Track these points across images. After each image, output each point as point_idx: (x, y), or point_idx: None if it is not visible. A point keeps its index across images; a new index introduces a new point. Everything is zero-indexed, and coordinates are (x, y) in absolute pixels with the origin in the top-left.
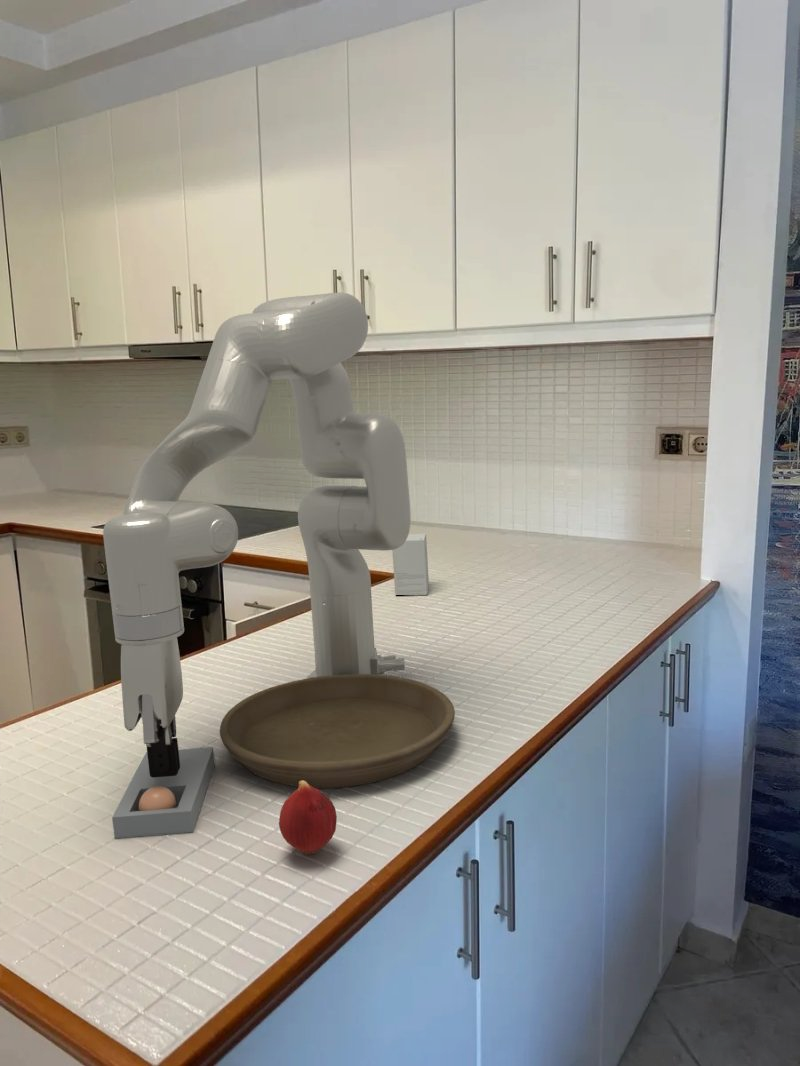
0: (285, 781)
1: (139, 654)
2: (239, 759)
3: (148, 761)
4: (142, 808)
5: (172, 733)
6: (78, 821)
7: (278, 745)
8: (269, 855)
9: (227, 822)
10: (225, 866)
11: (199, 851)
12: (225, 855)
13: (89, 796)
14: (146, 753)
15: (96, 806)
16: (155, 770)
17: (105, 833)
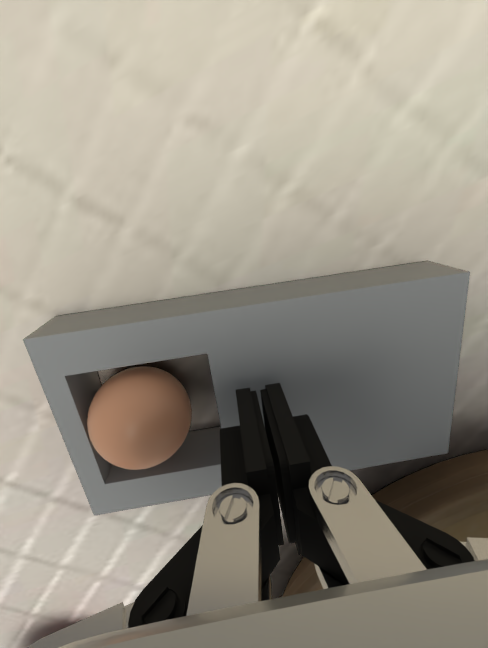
0: (292, 579)
1: None
2: None
3: (240, 421)
4: (92, 402)
5: (316, 566)
6: (132, 163)
7: (459, 529)
8: (54, 600)
9: (157, 514)
10: (3, 555)
11: (42, 503)
12: (38, 545)
13: (288, 128)
14: (459, 276)
15: (223, 184)
16: (220, 430)
17: (78, 279)
